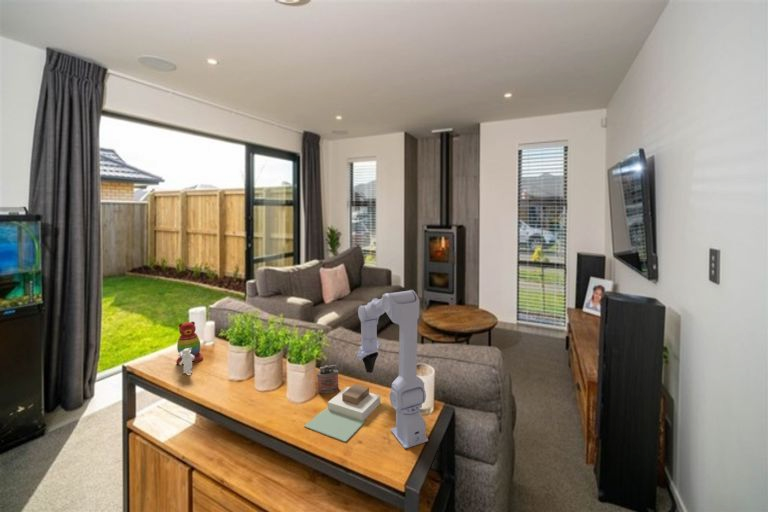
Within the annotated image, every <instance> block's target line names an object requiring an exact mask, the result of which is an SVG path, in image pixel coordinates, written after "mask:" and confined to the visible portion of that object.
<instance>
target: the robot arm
mask: <svg viewBox="0 0 768 512" xmlns="http://www.w3.org/2000/svg"><path fill="white" fill-rule="evenodd" d="M385 313H386V315H387V316H388V318H389V319H390V320H391V322H392V323H394V324H396V325H398V326H399V335H398V336H399V340H398V341H399V342H398V345H399V346H398V347H399V348H398V349H399V350H398V352H399V353H398V376H397V377H396V378H395V379H394V380H393V382H392V383H391V389H390V392H389V402H390V404H391V407H392V408H393V409H394V410H395V427H392V428H391V429H390V431H391V433H392V434H393V435H394V436H395V439H396V440H397V441H398V442H399V443H400V445H401V446H402V447H403V449H409V448H411V447H415V446H418V445H421V444H424V443H426V442H428V441H429V439H428V437H427V436H426V429H427V428H426V421H425V419H424V417H423V415H422V414H421V408H423V404H424V403H425V402H426V399H427V398H426V397H427V393H426V390H425V389H426V388H425V382H424V381H423V379H422V378H421V377H419V376H417V368H418V367H417V359H418V357H417V355H418V319H419V318H420V298H419V296H418V294H417V293H416V291H414V289H409V290H405V291H397V292H396V291H395V292H385V293H384V294H382V297H381V298H380V299H379V298H377V297H374V298H372V300H371V301H369V302H367V304H365V305H359V307H358V309H357V314H358V319H359V321H360V329H361V331H360V332H361V333H360V336H361V337H360V339H361V340H360V341H361V345H360V346H359V347H358V349H359V351H358V353H357V354H356V361H360V362H363V364H364V367H365V371H366V373H369V374H372V373H373V372H374V368H375V364H376V360H377V358H378V356H379V352H378V350H379V348H381V347H382V342H381V341H378V335H377V334H378V333H377V332H378V331H377V330H378V328H377V325H379V319H380V316H382V315H384V314H385Z"/></svg>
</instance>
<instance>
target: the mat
mask: <svg viewBox="0 0 768 512" xmlns="http://www.w3.org/2000/svg"><path fill="white" fill-rule="evenodd" d="M365 423H366V421H365V420H364V421H363V420H360V419H356V418H353V417H350V416H347V415H344V414H341V413H338V412H335V411H332V410H329V409H328V408H324V409H323V410H322V411H320V413H318V414H317V415H315V416H314V417H313V418H312V419H310V420H309V421H308V422H307V423H305V424H304V425H303V427H304V428H305V427H306V429H308V428H309V430H312V431H314V432H316V433H320V434H322V435H325V436H328V438H329V437H330V438H332V439H335V440H337V441H340V442H343V443H347V442H348V441H349V439H351V437H353V435H355V434H356V433H357V432H358V431H359V429H361V428H362V427H363V425H364V424H365Z"/></svg>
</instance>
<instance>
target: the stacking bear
mask: <svg viewBox="0 0 768 512" xmlns="http://www.w3.org/2000/svg"><path fill="white" fill-rule="evenodd" d="M196 328H197V327H196V323H195V321H190V322H188V321H187V322H183V323H180V324H178V331H179V334H180V336H179V338H178V340H177V346H176V348H177V352H178V354H179V353H180V352H181V351H182V352H183V350H184V349H186V348H191V352H190V353H191V354H192V355H193V356H195V358H194V360H193V359H192V360H193V361H199V362H201V361H200V360H202V359H203V360H204V356H203V354H202V353H201V352H200V351H201V340H200V338H199V336H198V333H196ZM189 350H190V349H189ZM179 357H180V356H179ZM181 360H182V358H181V357H180V358H177V359H176V363H177V364H179V363H180V362H181ZM203 360H202V361H203ZM177 364H176V365H177ZM182 364H183V363H182ZM183 365H184V364H183Z"/></svg>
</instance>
